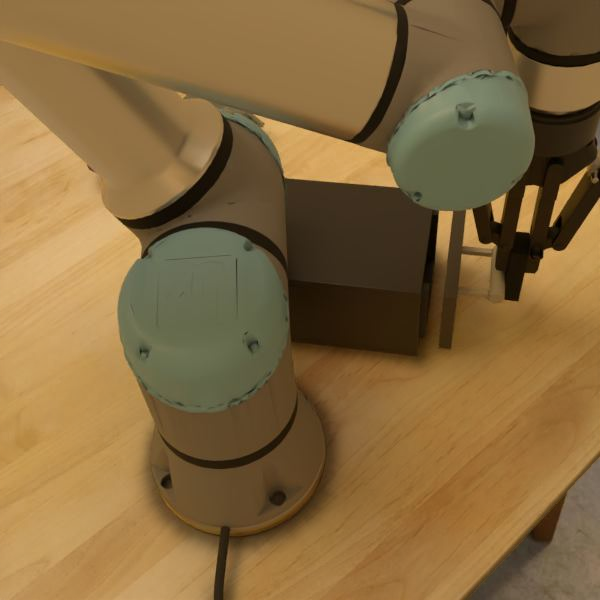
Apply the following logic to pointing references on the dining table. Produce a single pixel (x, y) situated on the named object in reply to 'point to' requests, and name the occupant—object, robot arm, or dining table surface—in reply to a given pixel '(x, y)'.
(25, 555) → the dining table surface
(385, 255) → the cabinet
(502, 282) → the drawer
